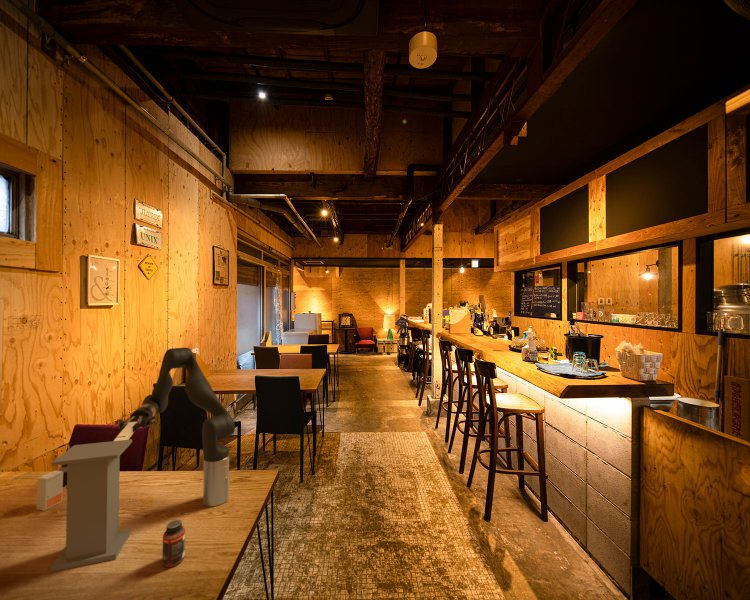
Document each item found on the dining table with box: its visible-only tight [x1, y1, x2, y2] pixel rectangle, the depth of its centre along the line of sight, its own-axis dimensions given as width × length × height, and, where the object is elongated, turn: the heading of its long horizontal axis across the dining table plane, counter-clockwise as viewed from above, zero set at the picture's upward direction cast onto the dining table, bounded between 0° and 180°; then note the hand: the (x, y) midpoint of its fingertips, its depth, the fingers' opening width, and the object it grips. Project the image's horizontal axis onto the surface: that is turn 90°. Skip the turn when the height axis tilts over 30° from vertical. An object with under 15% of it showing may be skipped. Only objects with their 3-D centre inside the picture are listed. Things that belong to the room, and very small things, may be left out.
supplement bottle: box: [162, 519, 186, 568], centre depth 101 cm, size 6×6×11 cm
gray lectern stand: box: [49, 438, 133, 573], centre depth 104 cm, size 16×12×32 cm
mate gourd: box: [58, 444, 71, 488], centre depth 142 cm, size 8×8×15 cm
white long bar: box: [113, 422, 137, 441], centre depth 124 cm, size 3×24×3 cm, turn 18°
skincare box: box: [36, 470, 64, 511], centre depth 127 cm, size 6×4×12 cm
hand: (128, 429), depth 130 cm, fingers closed on white long bar, 3 cm apart
